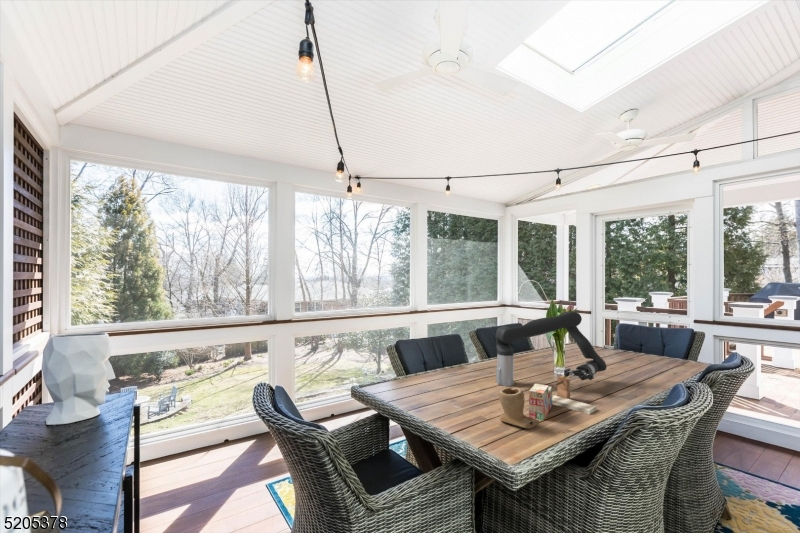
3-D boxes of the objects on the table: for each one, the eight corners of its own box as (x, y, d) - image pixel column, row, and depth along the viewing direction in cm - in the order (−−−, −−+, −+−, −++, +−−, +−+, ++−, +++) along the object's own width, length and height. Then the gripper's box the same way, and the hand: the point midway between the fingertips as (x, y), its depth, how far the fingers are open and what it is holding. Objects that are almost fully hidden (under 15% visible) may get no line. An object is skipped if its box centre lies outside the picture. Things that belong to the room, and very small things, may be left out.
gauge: (561, 397, 189) (561, 374, 189) (570, 399, 186) (570, 376, 186) (552, 402, 182) (552, 378, 182) (561, 404, 178) (561, 380, 179)
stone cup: (493, 422, 156) (493, 387, 156) (508, 415, 164) (508, 382, 164) (525, 434, 145) (525, 396, 145) (539, 426, 153) (540, 390, 153)
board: (547, 402, 181) (547, 398, 181) (554, 398, 186) (554, 395, 186) (589, 414, 166) (589, 410, 166) (596, 410, 171) (596, 406, 171)
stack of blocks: (538, 403, 180) (539, 378, 180) (552, 405, 177) (552, 380, 177) (528, 417, 162) (529, 390, 162) (543, 420, 159) (543, 392, 159)
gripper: (572, 362, 210) (560, 367, 199) (598, 366, 199) (587, 372, 188) (572, 375, 210) (560, 380, 199) (599, 380, 199) (587, 386, 188)
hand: (573, 376), depth 193 cm, fingers open, 8 cm apart
